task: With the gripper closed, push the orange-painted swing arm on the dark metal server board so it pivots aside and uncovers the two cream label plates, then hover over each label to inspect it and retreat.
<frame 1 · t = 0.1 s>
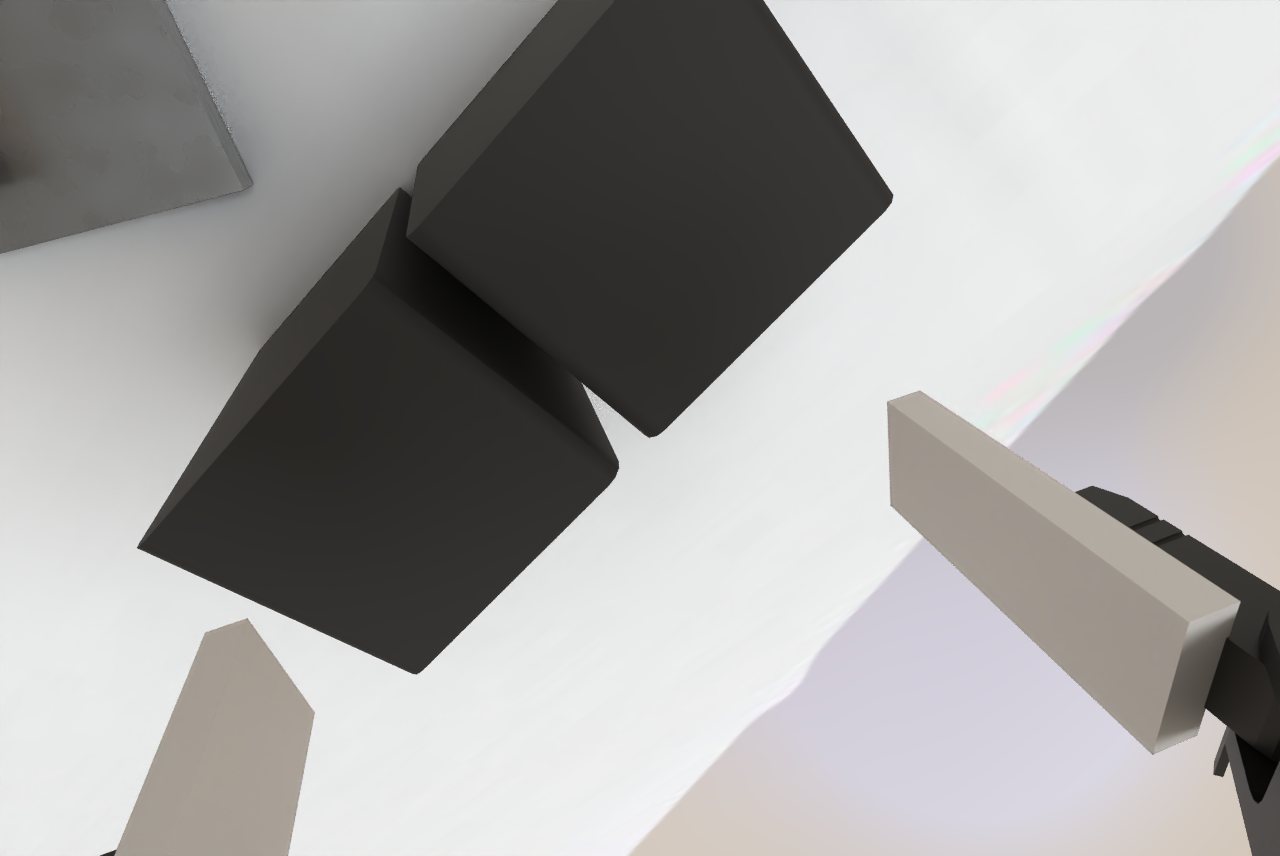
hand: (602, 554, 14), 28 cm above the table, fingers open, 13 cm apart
speaker: (490, 245, 38), on the table
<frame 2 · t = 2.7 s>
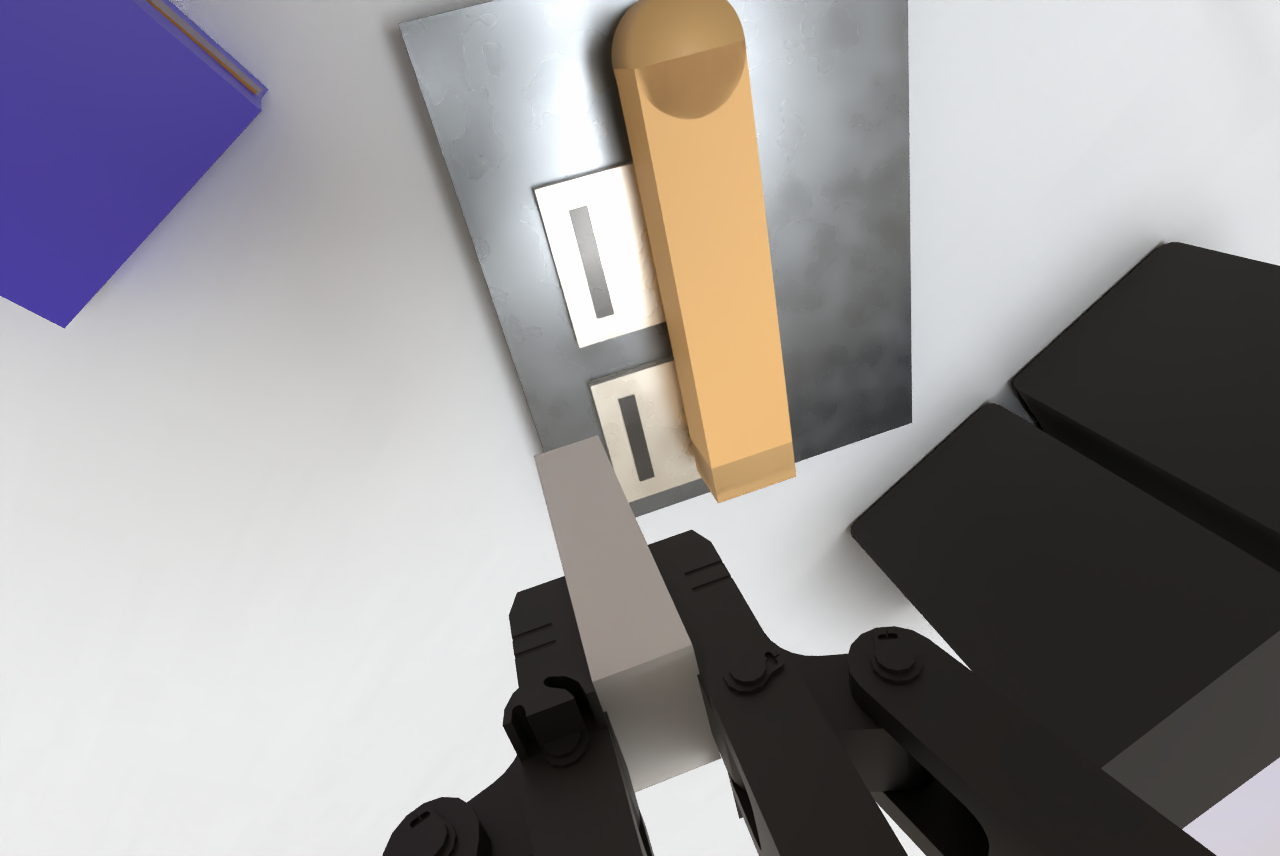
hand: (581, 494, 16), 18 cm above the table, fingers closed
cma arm: (712, 275, 29), point 5 cm above the table, hinge at 0.0°
server board: (700, 258, 33), on the table
speaker: (1027, 436, 45), on the table
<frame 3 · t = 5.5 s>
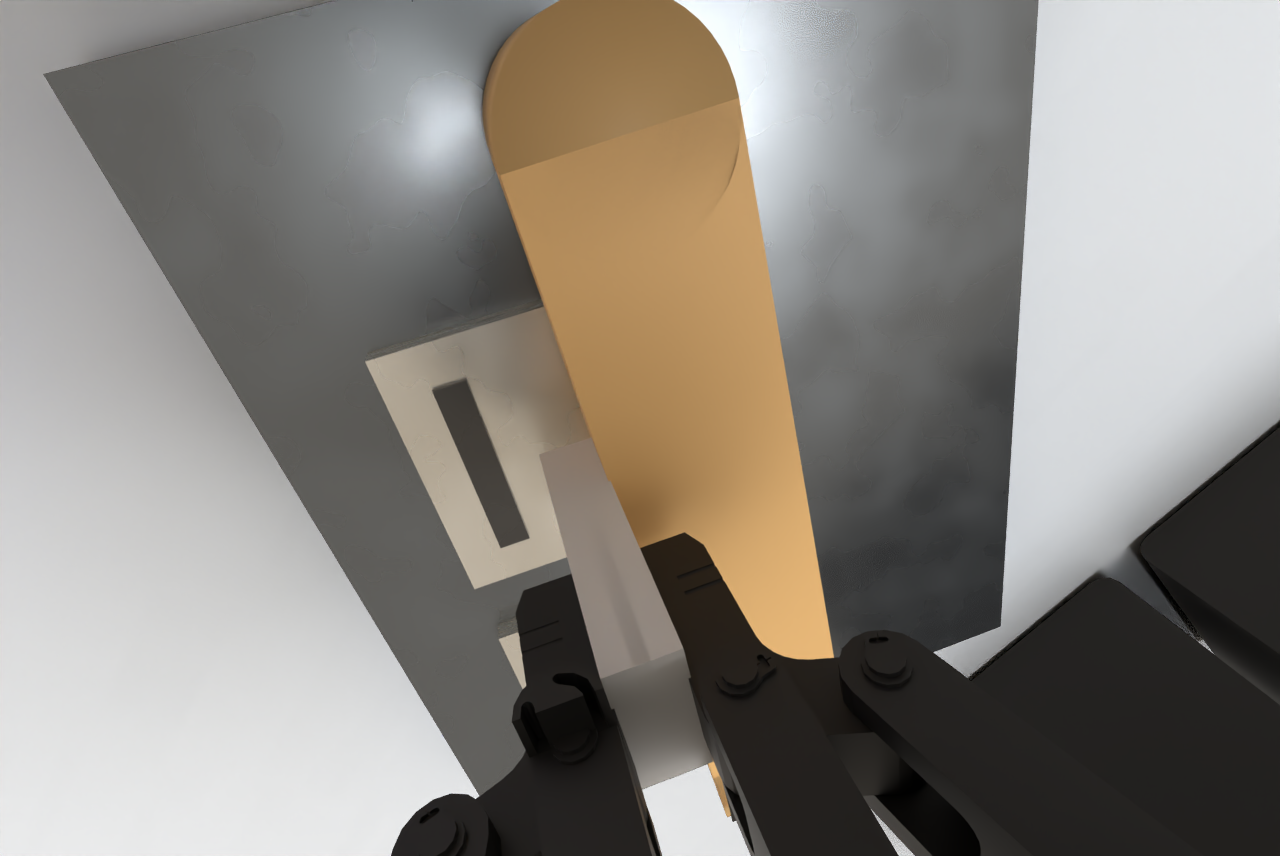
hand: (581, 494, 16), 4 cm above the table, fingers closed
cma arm: (699, 490, 16), point 5 cm above the table, hinge at 1.9°, touching gripper
server board: (677, 420, 21), on the table
speaker: (1149, 605, 32), on the table
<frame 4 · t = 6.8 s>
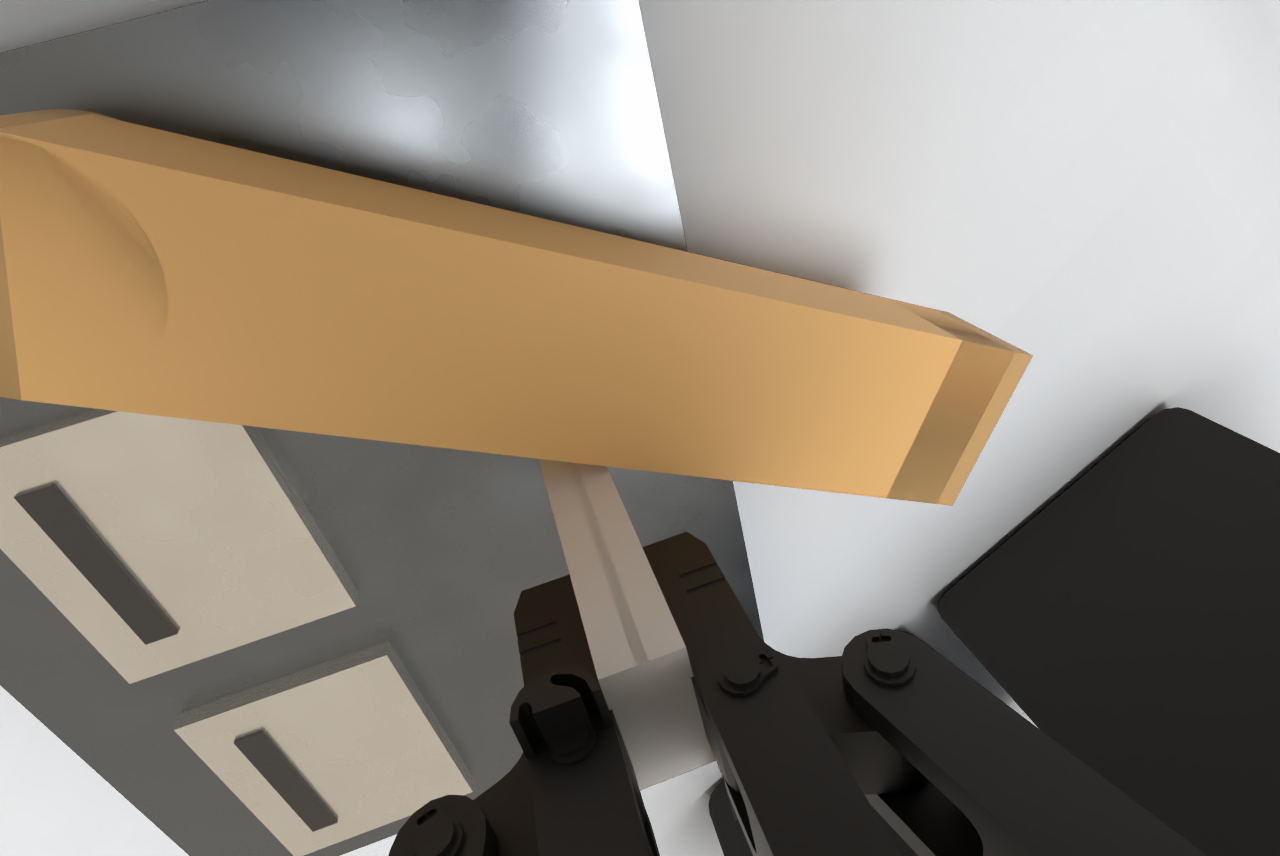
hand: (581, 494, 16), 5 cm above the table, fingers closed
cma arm: (552, 335, 14), point 5 cm above the table, hinge at 61.1°
server board: (377, 497, 20), on the table
speaker: (969, 656, 31), on the table
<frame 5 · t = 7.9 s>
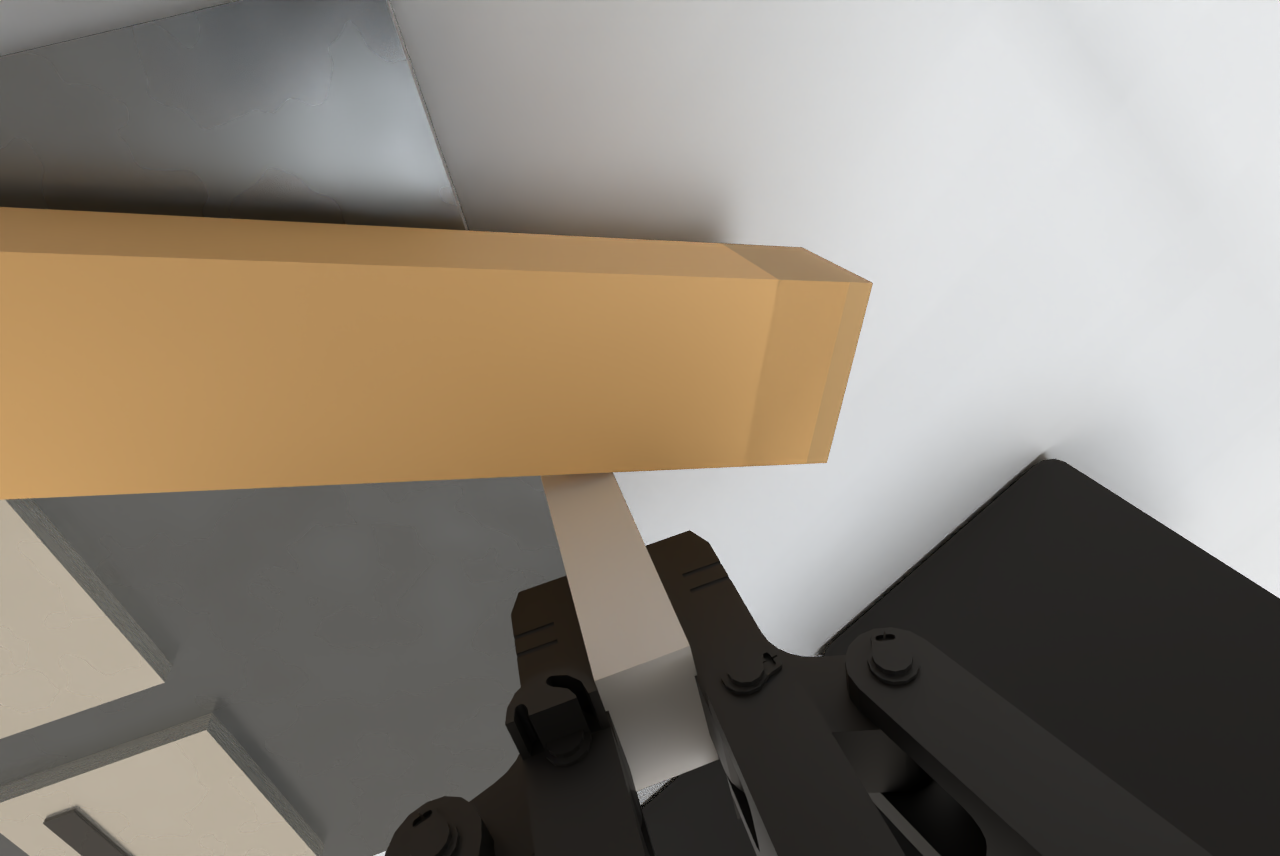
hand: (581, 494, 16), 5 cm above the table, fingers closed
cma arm: (317, 348, 13), point 5 cm above the table, hinge at 71.4°, touching gripper
server board: (202, 563, 19), on the table
speaker: (866, 703, 31), on the table
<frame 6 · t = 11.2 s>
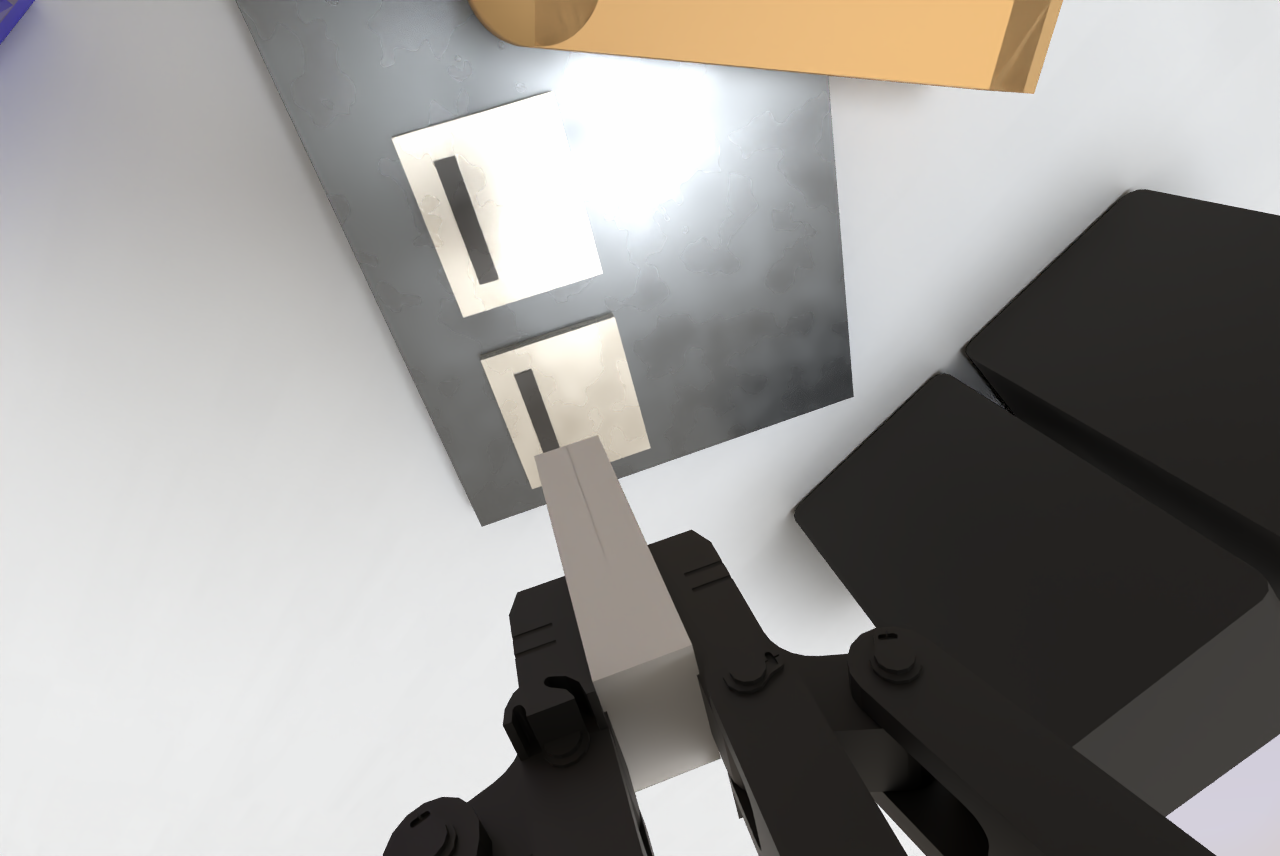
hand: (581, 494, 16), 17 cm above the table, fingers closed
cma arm: (773, 2, 23), point 5 cm above the table, hinge at 71.6°
server board: (603, 217, 30), on the table
speaker: (987, 408, 41), on the table
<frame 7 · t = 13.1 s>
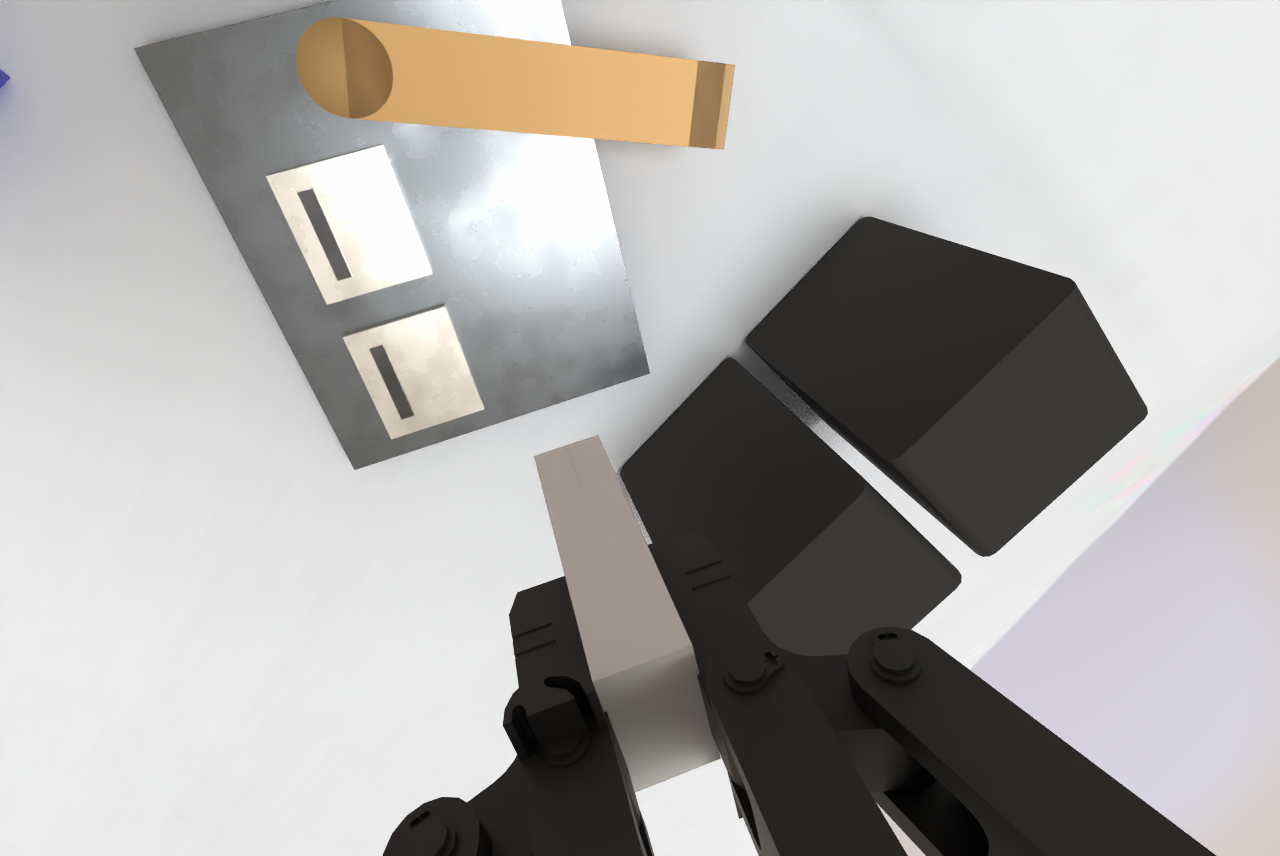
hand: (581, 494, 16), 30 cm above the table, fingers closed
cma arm: (527, 87, 34), point 5 cm above the table, hinge at 71.6°
server board: (439, 234, 40), on the table
speaker: (777, 388, 52), on the table
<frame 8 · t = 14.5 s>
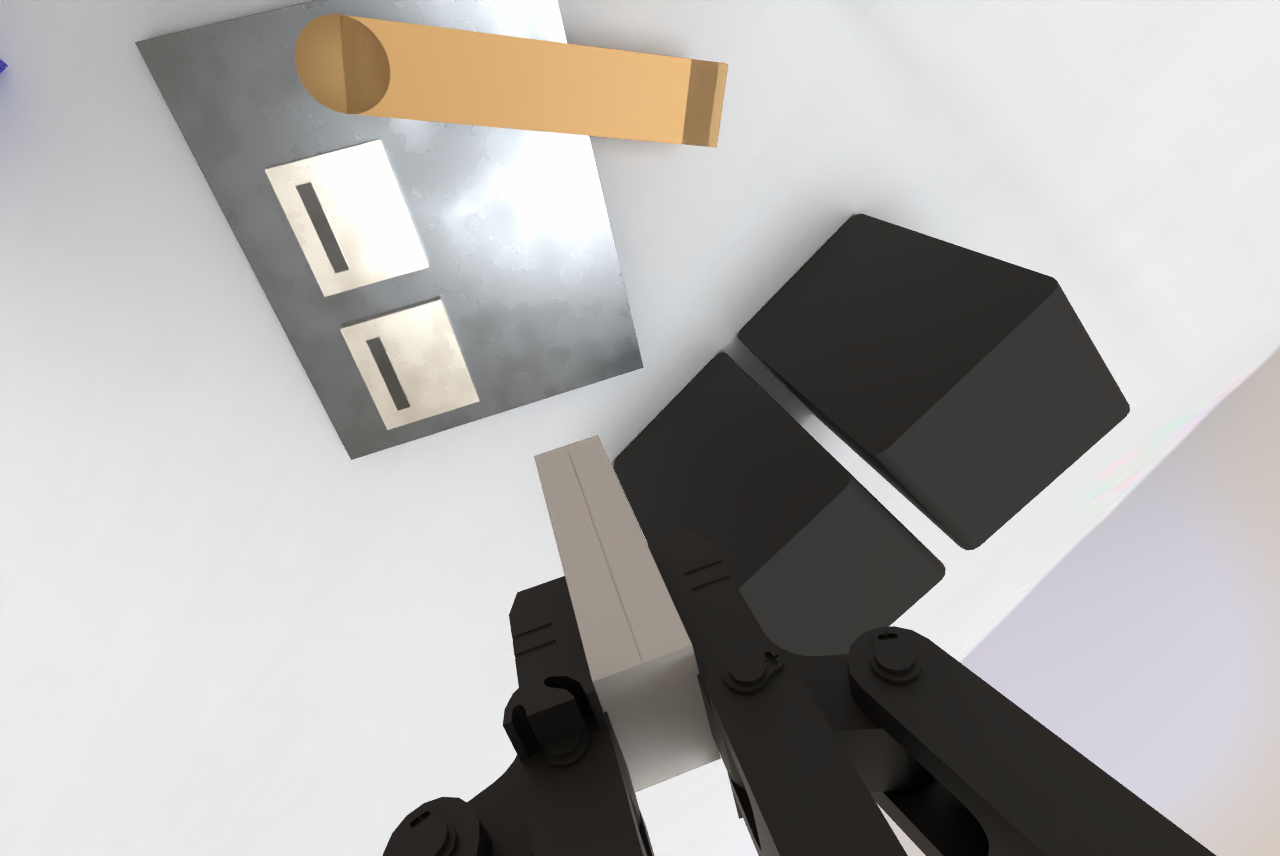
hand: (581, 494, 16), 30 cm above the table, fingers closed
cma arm: (523, 84, 35), point 5 cm above the table, hinge at 71.6°
server board: (436, 227, 41), on the table
speaker: (769, 383, 53), on the table
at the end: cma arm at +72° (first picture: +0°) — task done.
